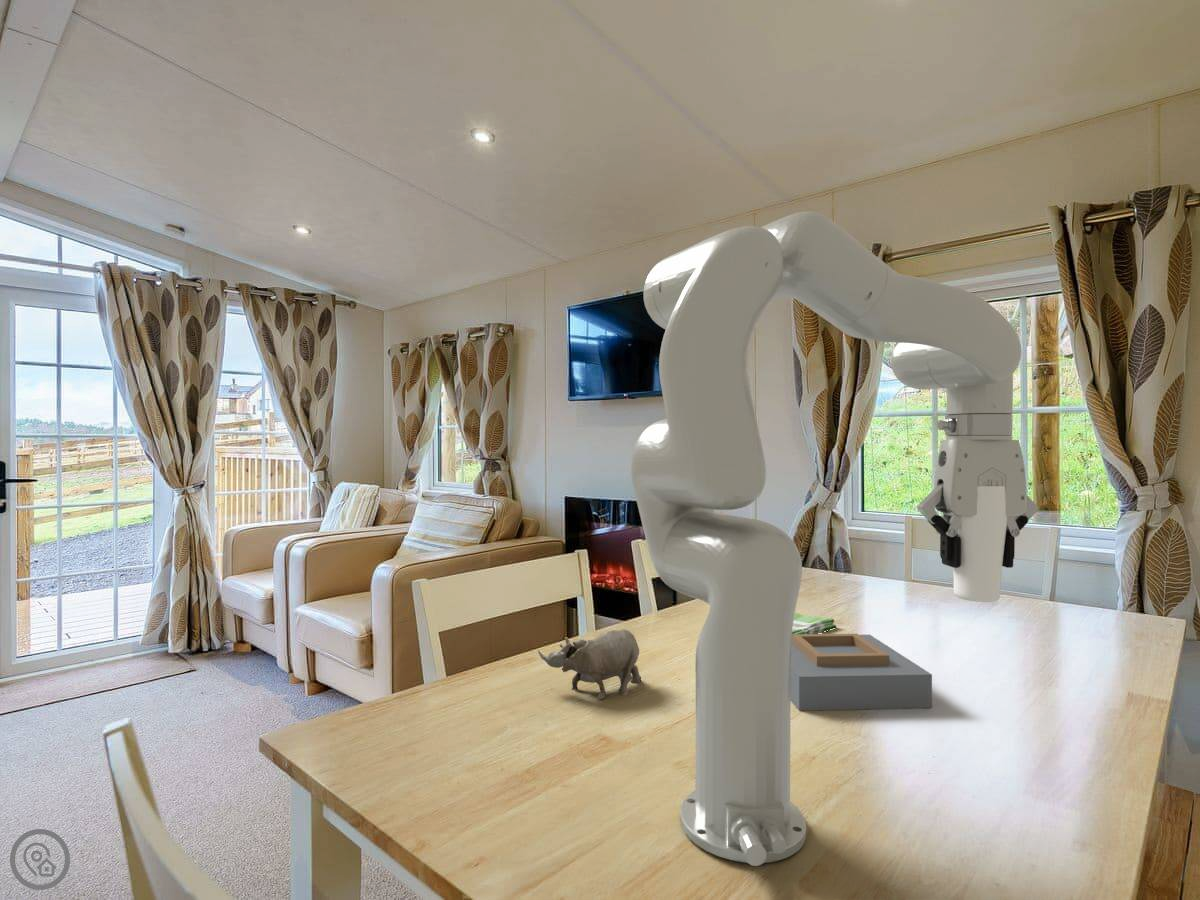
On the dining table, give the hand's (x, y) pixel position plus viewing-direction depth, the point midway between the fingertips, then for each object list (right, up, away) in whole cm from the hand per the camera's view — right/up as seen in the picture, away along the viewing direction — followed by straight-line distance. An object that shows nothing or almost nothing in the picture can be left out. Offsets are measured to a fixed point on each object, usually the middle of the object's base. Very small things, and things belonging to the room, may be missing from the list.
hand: (976, 564), depth 85 cm
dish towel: (-13, -24, +51) cm, 58 cm away
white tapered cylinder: (0, -5, 0) cm, 5 cm away
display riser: (-11, -23, +21) cm, 33 cm away
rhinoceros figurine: (-50, -23, +18) cm, 58 cm away
